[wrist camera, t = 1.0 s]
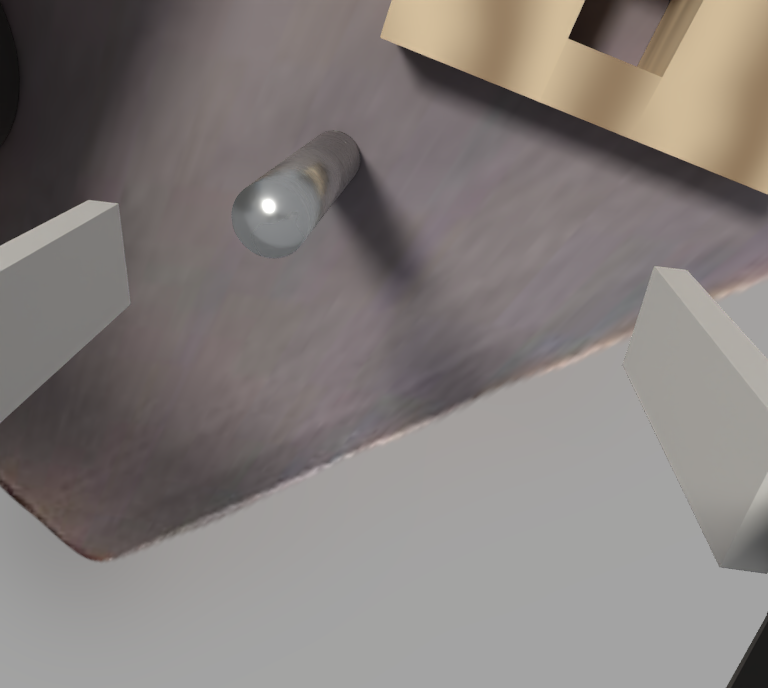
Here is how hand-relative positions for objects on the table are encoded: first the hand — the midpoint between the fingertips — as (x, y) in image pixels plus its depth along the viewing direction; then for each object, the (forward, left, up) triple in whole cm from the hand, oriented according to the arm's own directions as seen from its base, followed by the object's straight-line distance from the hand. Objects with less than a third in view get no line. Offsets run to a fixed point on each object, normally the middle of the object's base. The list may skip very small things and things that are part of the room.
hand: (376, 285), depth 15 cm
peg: (-5, -3, -21) cm, 22 cm away
